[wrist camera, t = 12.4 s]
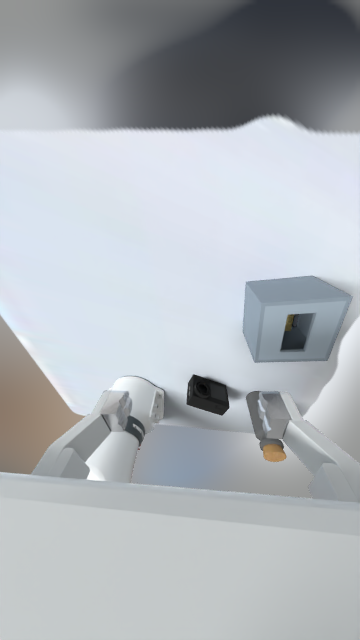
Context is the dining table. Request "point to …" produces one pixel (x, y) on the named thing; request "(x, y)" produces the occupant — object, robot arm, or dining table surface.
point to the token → (289, 322)
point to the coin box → (293, 298)
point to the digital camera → (207, 395)
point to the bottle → (268, 445)
